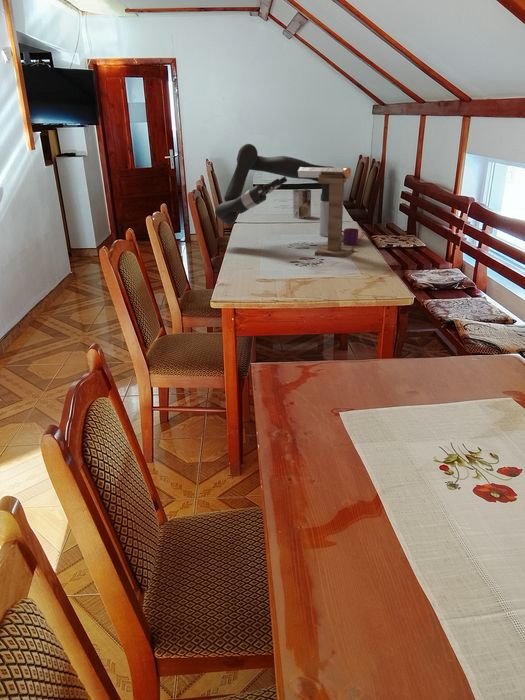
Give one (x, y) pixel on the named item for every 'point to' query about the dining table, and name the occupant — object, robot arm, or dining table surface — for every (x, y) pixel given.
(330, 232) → the stand
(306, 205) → the coffee box
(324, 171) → the rod
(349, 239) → the mug
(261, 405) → the dining table surface
